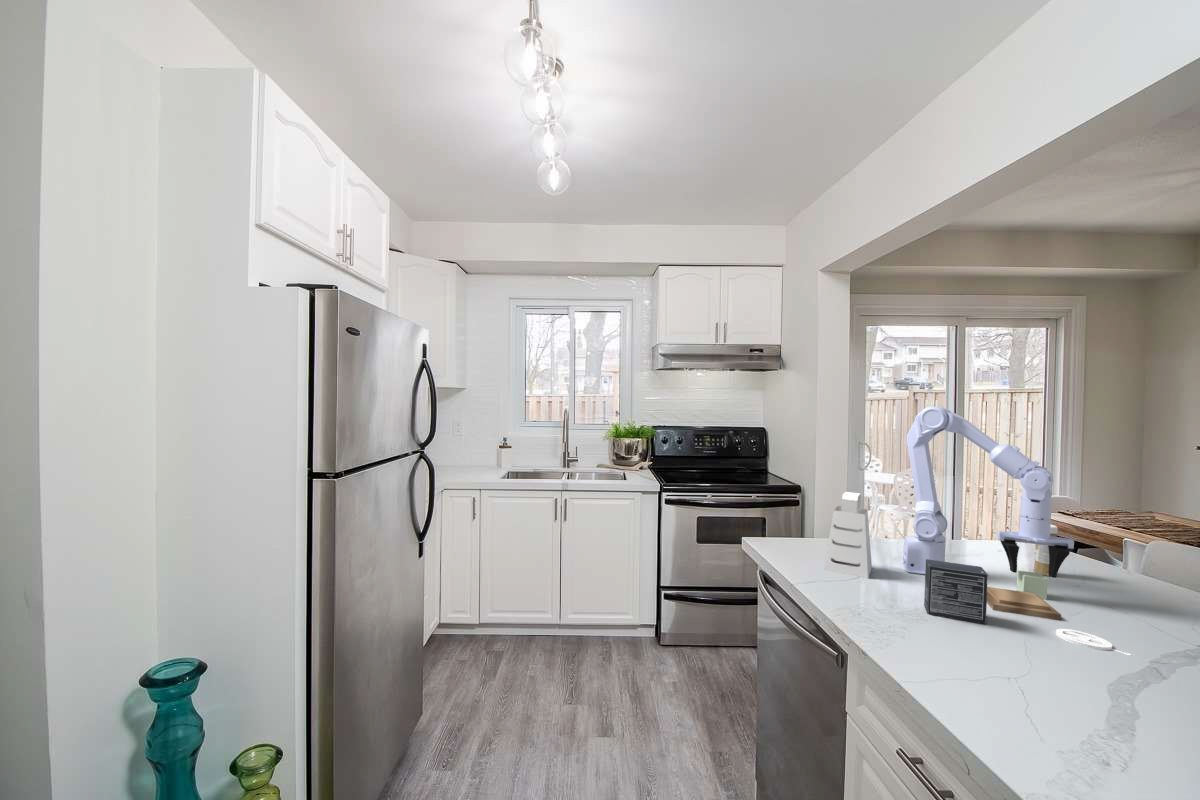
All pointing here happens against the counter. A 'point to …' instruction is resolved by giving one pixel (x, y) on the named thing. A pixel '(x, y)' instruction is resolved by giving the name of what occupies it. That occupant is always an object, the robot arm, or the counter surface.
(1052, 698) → the counter surface
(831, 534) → the grater
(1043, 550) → the sprinkles bottle
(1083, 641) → the pendant
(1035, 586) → the sage block
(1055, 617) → the walnut base
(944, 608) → the small box
